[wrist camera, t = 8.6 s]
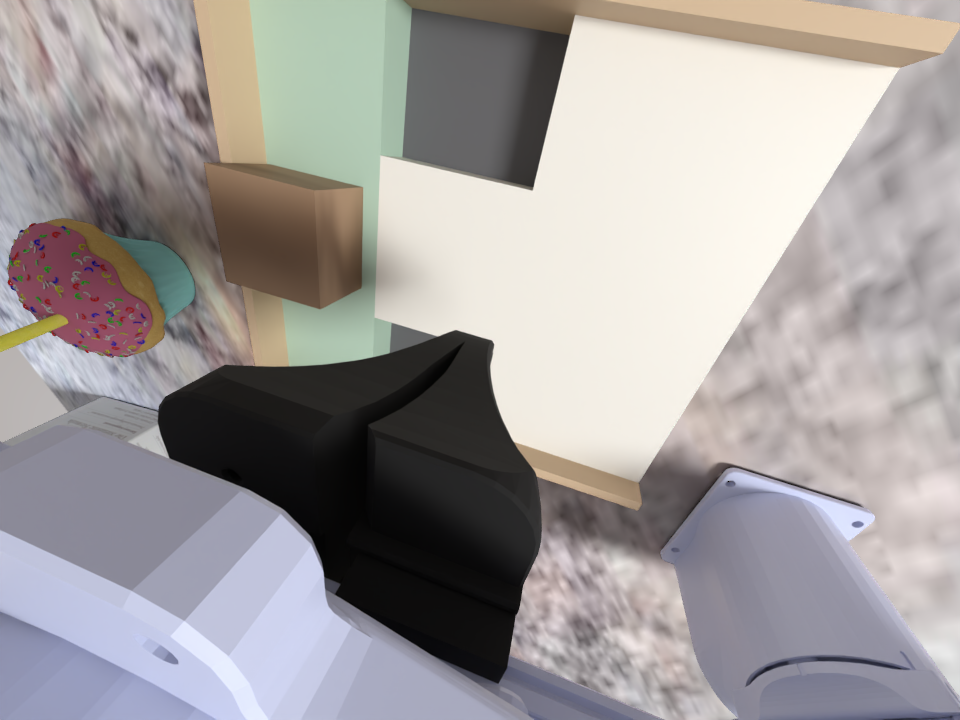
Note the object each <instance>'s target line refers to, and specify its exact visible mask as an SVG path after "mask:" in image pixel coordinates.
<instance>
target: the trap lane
mask: <svg viewBox="0 0 960 720" xmlns="http://www.w3.org/2000/svg"><path fill="white" fill-rule="evenodd" d="M193 1H194V7H195V13H196V19H197V25H198V31H199V37H200V43H201V48H202V54H203V60H204V66H205V72H206V78H207V84H208V90H209V96H210V102H211V108H212V114H213V120H214V126H215V132H216V137H217V143H218V149H219V155H220V161H221V163H240V164H271V165H275V166H279V167H283V168H287V169H291V170H295V171H299V172H304V173H308V174H312V175H316V176H320V177H324V178H328V179H332V180H336V181H340V182H344V183H348V184H352V185H356V186H360V187H363V236H362V288H361V289H359V290H357V291H355V292H353V293H351V294H349V295H347V296H345V297H343V298H341V299H340V300H338V301H336V302H334V303H332V304H330V305H328V306H326V307H324V308H322V309H317V308H313V307H310V306H307V305H303V304H300V303H297V302H293V301H290V300H287V299H283V298H280V297H277V296H274V295H270V294H267V293H264V292H260V291H257V290H254V289H250V288H247V287H244V286H242V292H243V298H244V304H245V309H246V315H247V321H248V327H249V333H250V339H251V345H252V351H253V357H254V363H255V366H272V367H277V366H309V365H323V364H332V363H340V362H347V361H355V360H361V359H366V358H371V357H376V356H380V355H384V354H388V353H392V352H395V351H398V350H401V349H404V348H408V347H411V346H414V345H417V344H420V343H422V342H425V341H427V340H430V339H433V338H435V337H438V336H440V335H443V334H446V333H448V332H451V331H454V330H458V331H461V332H465V333H468V334H472V335H475V336H478V337H482V338H485V339H489V340H492V341H493V343H494V349H493V354H492V358H491V362H490V370H491V380H492V386H493V391H494V396H495V399H496V403H497V406H498V409H499V412H500V414H501V417H502V419H503V422H504V424H505V426H506V428H507V430H508V432H509V434H510V436H511V438H512V440H513V441H514V443H515V445H516V446H517V448H518V450H519V451H520V452H521V454H522V455H523V456H524V458H525V459H526V460H527V462H528V463H529V464H530V465H531V467H532V468H533V469H534V471H535V473H536V476H537V477H540V478H543V479H546V480H549V481H551V482H554V483H557V484H560V485H563V486H566V487H569V488H572V489H575V490H578V491H581V492H584V493H587V494H590V495H593V496H596V497H599V498H601V499H604V500H607V501H610V502H613V503H616V504H619V505H622V506H625V507H628V508H631V509H634V510H637V511H638V510H639V508H640V507H641V505H642V499H641V494H640V488H639V482H640V480H641V478H642V477H643V475H644V474H645V472H646V470H647V469H648V467H649V466H650V464H651V462H652V461H653V459H654V458H655V456H656V455H657V453H658V451H659V450H660V448H661V447H662V445H663V443H664V442H665V440H666V439H667V437H668V435H669V434H670V432H671V431H672V429H673V427H674V426H675V424H676V423H677V421H678V420H679V418H680V416H681V415H682V413H683V412H684V410H685V408H686V407H687V405H688V404H689V402H690V400H691V399H692V397H693V396H694V394H695V392H696V391H697V389H698V388H699V386H700V385H701V383H702V381H703V380H704V378H705V377H706V375H707V373H708V372H709V370H710V369H711V367H712V365H713V364H714V362H715V361H716V359H717V357H718V356H719V354H720V353H721V351H722V350H723V348H724V346H725V345H726V343H727V342H728V340H729V338H730V337H731V335H732V334H733V332H734V330H735V329H736V327H737V326H738V324H739V322H740V321H741V319H742V318H743V316H744V315H745V313H746V311H747V310H748V308H749V307H750V305H751V303H752V302H753V300H754V299H755V297H756V295H757V294H758V292H759V291H760V289H761V287H762V286H763V284H764V283H765V281H766V280H767V278H768V276H769V275H770V273H771V272H772V270H773V268H774V267H775V265H776V264H777V262H778V260H779V259H780V257H781V256H782V254H783V252H784V251H785V249H786V248H787V246H788V245H789V243H790V241H791V240H792V238H793V237H794V235H795V233H796V232H797V230H798V229H799V227H800V225H801V224H802V222H803V221H804V219H805V217H806V216H807V214H808V213H809V211H810V210H811V208H812V206H813V205H814V203H815V202H816V200H817V198H818V197H819V195H820V194H821V192H822V190H823V189H824V187H825V186H826V184H827V182H828V181H829V179H830V178H831V176H832V175H833V173H834V171H835V170H836V168H837V167H838V165H839V163H840V162H841V160H842V159H843V157H844V155H845V154H846V152H847V151H848V149H849V147H850V146H851V144H852V143H853V141H854V140H855V138H856V136H857V135H858V133H859V132H860V130H861V128H862V127H863V125H864V124H865V122H866V120H867V119H868V117H869V116H870V114H871V112H872V111H873V109H874V108H875V106H876V105H877V103H878V101H879V100H880V98H881V97H882V95H883V93H884V92H885V90H886V89H887V87H888V85H889V84H890V82H891V81H892V79H893V77H894V76H895V74H896V73H897V71H898V70H899V68H901V67H904V66H907V65H910V64H913V63H916V62H919V61H922V60H925V59H928V58H931V57H934V56H937V55H940V54H943V53H944V51H945V50H946V48H947V47H948V45H949V44H950V42H951V41H952V39H953V38H954V36H955V35H956V33H957V32H958V30H959V29H960V23H955V22H948V21H941V20H934V19H928V18H921V17H914V16H907V15H900V14H893V13H887V12H880V11H873V10H866V9H859V8H852V7H845V6H839V5H832V4H825V3H818V2H811V1H804V0H193Z"/></svg>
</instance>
